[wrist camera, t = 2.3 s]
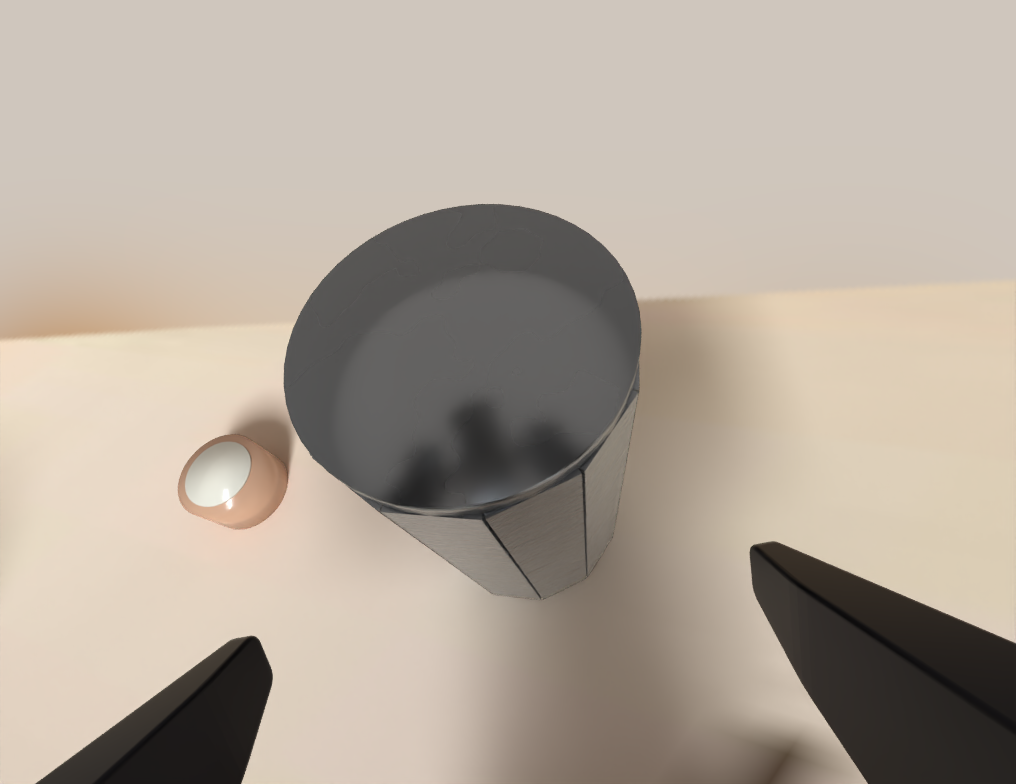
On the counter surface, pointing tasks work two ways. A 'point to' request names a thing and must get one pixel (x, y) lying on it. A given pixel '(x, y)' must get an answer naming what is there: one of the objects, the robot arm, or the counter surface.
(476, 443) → the steel cup
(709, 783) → the counter surface
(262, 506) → the terracotta bowl
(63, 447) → the counter surface
